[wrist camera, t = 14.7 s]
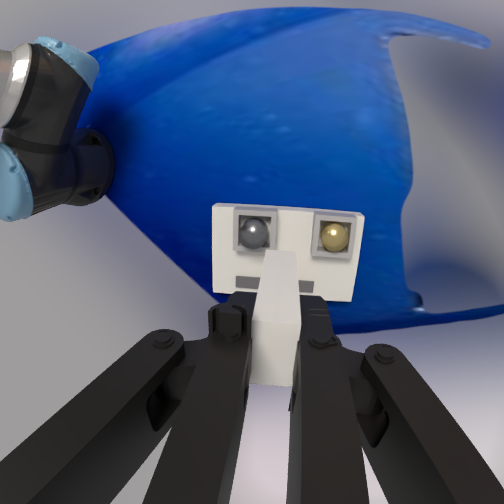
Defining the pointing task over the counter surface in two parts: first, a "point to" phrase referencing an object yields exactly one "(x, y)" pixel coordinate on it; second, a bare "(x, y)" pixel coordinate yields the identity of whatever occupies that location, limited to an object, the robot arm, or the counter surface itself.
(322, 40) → the counter surface
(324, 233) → the brass button
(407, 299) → the counter surface
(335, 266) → the console
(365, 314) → the counter surface
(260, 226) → the grey button
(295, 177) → the counter surface
